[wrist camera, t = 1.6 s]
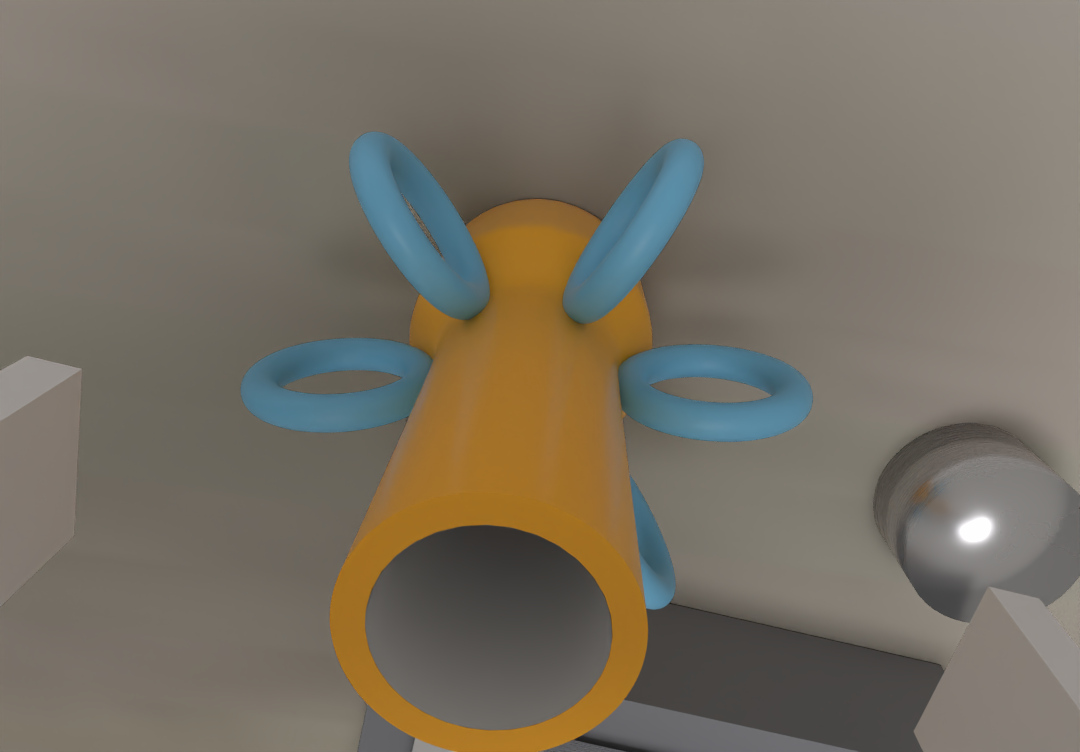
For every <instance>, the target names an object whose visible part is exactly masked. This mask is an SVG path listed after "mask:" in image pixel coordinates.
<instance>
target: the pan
mask: <svg viewBox="0 0 1080 752" xmlns="http://www.w3.org/2000/svg"><path fill="white" fill-rule="evenodd" d="M412 752H454V751H450V750H446V749H443V748H440V747H437V746H434V745H431V744H428V743H426V742H423V741H421V740H419V739H417V738H415V740H414V744H413V748H412ZM539 752H626V751H621V750H616V749H612V748H607V747H603V746H598V745H594V744H589V743H584V742H580V741H575V740H571V741H569V742H567V743H564V744H562V745H559V746H556V747H554V748H550V749H547V750H543V751H539Z"/></svg>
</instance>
